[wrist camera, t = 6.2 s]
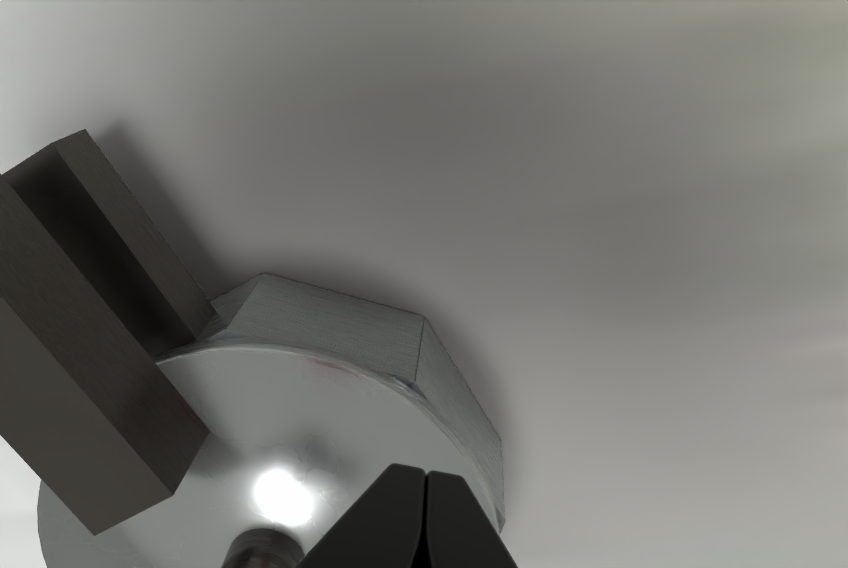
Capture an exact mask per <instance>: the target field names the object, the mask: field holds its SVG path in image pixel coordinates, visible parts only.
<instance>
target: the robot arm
mask: <svg viewBox="0 0 848 568" xmlns="http://www.w3.org/2000/svg"><path fill="white" fill-rule="evenodd" d="M294 568H518V567H517V565H516V563H515V562H514V560H513V558H512V557H511V555H510V553H509V552H508V550H507V548H506V547H505V545H504V543H503V542H502V540H501V538H500V537H499V535H498V533H497V532H496V530H495V528H494V527H493V525H492V523H491V522H490V520H489V518H488V517H487V515H486V513H485V512H484V510H483V508H482V507H481V505H480V503H479V502H478V500H477V498H476V497H475V495H474V493H473V492H472V490H471V488H470V487H469V485H468V483H467V482H466V480H465V479H464V478H463V477H462V476H460V475H456V474H451V473H446V472H440V471H435V470H431V471H429V472H428V473H427V475H426V472H425V470H423V469H422V468H419V467H414V466H409V465H403V464H398V463H392V464H390V465H389V466H388V467H387V468H386V469H385V470H384V471H383V472H382V473H381V474H380V475H379V476H378V477H377V479H376V480H375V481H374V482H373V483H372V484H371V485H370V486H369V487H368V488H367V489H366V490H365V491H364V493H363V494H362V495H361V496H360V497H359V498H358V499H357V500H356V501H355V502H354V503H353V504H352V505H351V507H350V508H349V509H348V510H347V511H346V512H345V513H344V514H343V515H342V516H341V517H340V518H339V520H338V521H337V522H336V523H335V524H334V525H333V526H332V527H331V528H330V529H329V530H328V531H327V532H326V534H325V535H324V536H323V537H322V538H321V539H320V540H319V541H318V542H317V543H316V544H315V545H314V546H313V548H312V549H311V550H310V551H309V552H308V553H307V554H306V555H305V556H304V557H303V558H302V559H301V560H300V562H299V563H298V564H297V565H296V566H295V567H294Z"/></svg>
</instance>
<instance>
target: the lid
mask: <svg viewBox="0 0 848 568" xmlns="http://www.w3.org/2000/svg"><path fill="white" fill-rule="evenodd" d="M0 435H1V436H2V437H3V438H4V439H5V440H6V441H7V443H8V444H9V445H10V446H11V447H12V448H13V449H14V450H15V451H16V452H17V453H18V454H19V455H20V457H21V458H22V459H23V460H24V461H25V462H26V463H27V464H28V465H29V466H30V467H31V468H32V470H33V471H34V472H35V473H36V474H37V475H38V476H39V477H40V478H41V479H42V480H41V483H40V490H39V498H38V505H37V514H38V533H39V538H40V543H41V548H42V554H43V557H44V560H45V563H46V565H47V568H294V567H295V566H296V565H297V564H298V563H299V562H300V560H301V559H302V558H303V557H304V556H305V555H306V554H307V553H308V552H309V551H310V550H311V549H312V548H313V546H314V545H315V544H316V543H317V542H318V541H319V540H320V539H321V538H322V537H323V536H324V535H325V534H326V532H327V531H328V530H329V529H330V528H331V527H332V526H333V525H334V524H335V523H336V522H337V521H338V520H339V518H340V517H341V516H342V515H343V514H344V513H345V512H346V511H347V510H348V509H349V508H350V507H351V505H352V504H353V503H354V502H355V501H356V500H357V499H358V498H359V497H360V496H361V495H362V494H363V493H364V491H365V490H366V489H367V488H368V487H369V486H370V485H371V484H372V483H373V482H374V481H375V480H376V479H377V477H378V476H379V475H380V474H381V473H382V472H383V471H384V470H385V469H386V468H387V467H388V466H389V465H390V464H392V463H398V464H403V465H409V466H414V467H419V468H422V469H423V470H425V472H426V475H427V473H428V472H429V471H431V470H435V471H440V472H446V473H451V474H456V475H460V476H462V477H463V478H464V479H465V480H466V482H467V483H468V485H469V487H470V488H471V490H472V492H473V493H474V495H475V497H476V498H477V500H478V502H479V503H480V505H481V507H482V508H483V510H484V512H485V513H486V515H487V517H488V518H489V520H490V522H491V523H492V525H493V527H494V528H495V530H496V532H497V533H498V535H499V537H500V534H499V520H498V515H497V511H496V507H495V502H494V498H493V494H492V492H491V489H490V487H489V484H488V482H487V479H486V477H485V474H484V472H483V470H482V468H481V466H480V465H479V463H478V461H477V459H476V458H475V456H474V454H473V453H472V451H471V449H470V448H469V446H468V445H467V443H466V442H465V441H464V440H463V438H462V437H461V436H460V435H459V433H458V432H457V431H456V430H455V428H454V427H453V426H452V425H451V423H450V422H449V421H448V420H447V419H446V418H444V417H443V416H442V415H441V414H440V413H439V412H438V411H437V410H436V409H435V408H434V407H433V406H432V405H431V404H430V403H429V402H428V401H426V400H425V399H424V398H422V397H421V396H420V395H418V394H417V393H416V392H414V391H413V390H412V389H410V388H409V387H408V386H406V385H405V384H404V383H402V382H400V381H398V380H397V379H395V378H393V377H392V376H390V375H388V374H386V373H385V372H383V371H381V370H379V369H378V368H376V367H374V366H371V365H369V364H367V363H364V362H362V361H360V360H357V359H355V358H353V357H350V356H348V355H346V354H342V353H339V352H336V351H333V350H329V349H326V348H323V347H319V346H316V345H312V344H306V343H300V342H295V341H289V340H284V339H272V338H256V337H241V338H224V339H214V340H208V341H203V342H197V343H192V344H187V345H183V346H180V347H177V348H174V349H171V350H168V351H165V352H162V353H159V354H156V355H154V356H152V357H150V356H149V355H148V354H147V353H146V351H145V350H144V349H143V348H142V347H141V345H140V344H139V343H138V342H137V340H136V339H135V338H134V337H133V336H132V334H131V333H130V332H129V331H128V329H127V328H126V327H125V326H124V324H123V323H122V322H121V321H120V320H119V318H118V317H117V316H116V315H115V313H114V312H113V311H112V310H111V309H110V307H109V306H108V305H107V304H106V302H105V301H104V300H103V299H102V298H101V296H100V295H99V294H98V293H97V291H96V290H95V289H94V288H93V287H92V285H91V284H90V283H89V282H88V280H87V279H86V278H85V277H84V275H83V274H82V273H81V272H80V271H79V269H78V268H77V267H76V266H75V264H74V263H73V262H72V261H71V260H70V258H69V257H68V256H67V255H66V253H65V252H64V251H63V250H62V249H61V247H60V246H59V245H58V244H57V242H56V241H55V240H54V239H53V237H52V236H51V235H50V234H49V233H48V231H47V230H46V229H45V228H44V226H43V225H42V224H41V223H40V222H39V220H38V219H37V218H36V217H35V215H34V214H33V213H32V212H31V211H30V209H29V208H28V207H27V206H26V204H25V203H24V202H23V201H22V200H21V198H20V197H19V196H18V195H17V193H16V192H15V191H14V190H13V188H12V187H11V186H10V185H9V184H8V182H7V181H6V180H5V179H4V177H3V176H2V175H1V174H0Z"/></svg>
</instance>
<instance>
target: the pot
mask: <svg viewBox="0 0 848 568" xmlns="http://www.w3.org/2000/svg"><path fill="white" fill-rule="evenodd" d="M2 176H3V177H4V179H5V180H6V181H7V182H8V184H9V185H10V186H11V187H12V188H13V190H14V191H15V192H16V193H17V195H18V196H19V197H20V198H21V200H22V201H23V202H24V203H25V204H26V206H27V207H28V208H29V209H30V211H31V212H32V213H33V214H34V215H35V217H36V218H37V219H38V220H39V222H40V223H41V224H42V225H43V226H44V228H45V229H46V230H47V231H48V233H49V234H50V235H51V236H52V237H53V239H54V240H55V241H56V242H57V244H58V245H59V246H60V247H61V249H62V250H63V251H64V252H65V253H66V255H67V256H68V257H69V258H70V260H71V261H72V262H73V263H74V264H75V266H76V267H77V268H78V269H79V271H80V272H81V273H82V274H83V275H84V277H85V278H86V279H87V280H88V282H89V283H90V284H91V285H92V287H93V288H94V289H95V290H96V291H97V293H98V294H99V295H100V296H101V298H102V299H103V300H104V301H105V302H106V304H107V305H108V306H109V307H110V309H111V310H112V311H113V312H114V313H115V315H116V316H117V317H118V318H119V320H120V321H121V322H122V323H123V324H124V326H125V327H126V328H127V329H128V331H129V332H130V333H131V334H132V336H133V337H134V338H135V339H136V340H137V342H138V343H139V344H140V345H141V347H142V348H143V349H144V350H145V351H146V353H147V354H148V355H149V356H150V357H152V356H154V355H156V354H159V353H162V352H165V351H168V350H171V349H174V348H177V347H180V346H183V345H187V344H192V343H197V342H203V341H208V340H214V339H224V338H241V337H256V338H272V339H284V340H289V341H295V342H300V343H306V344H312V345H316V346H319V347H323V348H326V349H329V350H333V351H336V352H339V353H342V354H346V355H348V356H350V357H353V358H355V359H357V360H360V361H362V362H364V363H367V364H369V365H371V366H374V367H376V368H378V369H379V370H381V371H383V372H385V373H386V374H388V375H390V376H392V377H393V378H395V379H397V380H398V381H400V382H402V383H404V384H405V385H406V386H408V387H409V388H410V389H412V390H413V391H414V392H416V393H417V394H418V395H420V396H421V397H422V398H424V399H425V400H426V401H428V402H429V403H430V404H431V405H432V406H433V407H434V408H435V409H436V410H437V411H438V412H439V413H440V414H441V415H442V416H443V417H444V418H446V419H447V420H448V421H449V422H450V423H451V425H452V426H453V427H454V428H455V430H456V431H457V432H458V433H459V435H460V436H461V437H462V438H463V440H464V441H465V442H466V443H467V445H468V446H469V448H470V449H471V451H472V453H473V454H474V456H475V458H476V459H477V461H478V463H479V465H480V466H481V468H482V470H483V472H484V474H485V477H486V479H487V482H488V484H489V487H490V489H491V492H492V494H493V498H494V502H495V507H496V511H497V515H498V520H499V534H500V533H501V530H502V528H503V525H504V523H505V509H504V489H503V470H502V450H501V439H500V438H499V436H498V435H497V433H496V431H495V430H494V428H493V426H492V425H491V423H490V422H489V420H488V418H487V417H486V415H485V414H484V412H483V410H482V409H481V407H480V405H479V404H478V402H477V401H476V399H475V397H474V396H473V394H472V392H471V391H470V389H469V388H468V386H467V384H466V383H465V381H464V380H463V378H462V376H461V375H460V373H459V371H458V370H457V368H456V367H455V365H454V363H453V362H452V360H451V359H450V357H449V355H448V354H447V352H446V350H445V349H444V347H443V346H442V344H441V342H440V341H439V339H438V337H437V336H436V334H435V333H434V331H433V329H432V328H431V326H430V325H429V323H428V321H427V320H426V318H425V317H424V316H421V315H417V314H413V313H410V312H406V311H403V310H399V309H395V308H392V307H388V306H384V305H381V304H377V303H373V302H370V301H366V300H362V299H359V298H355V297H352V296H348V295H344V294H341V293H337V292H333V291H330V290H326V289H322V288H319V287H315V286H312V285H308V284H304V283H301V282H297V281H293V280H290V279H286V278H282V277H279V276H275V275H271V274H268V273H262V274H260V275H258V276H257V277H255V278H253V279H251V280H249V281H247V282H245V283H244V284H242V285H240V286H238V287H236V288H234V289H232V290H231V291H229V292H227V293H225V294H223V295H221V296H219V297H218V298H216V299H214V300H212V301H210V302H209V301H208V299H207V298H206V296H205V295H204V294H203V292H202V291H201V289H200V288H199V287H198V285H197V284H196V282H195V281H194V280H193V278H192V277H191V276H190V274H189V273H188V271H187V270H186V269H185V267H184V266H183V264H182V263H181V262H180V260H179V259H178V257H177V256H176V255H175V253H174V252H173V250H172V249H171V248H170V246H169V245H168V244H167V242H166V241H165V239H164V238H163V237H162V235H161V234H160V232H159V231H158V230H157V228H156V227H155V225H154V224H153V223H152V221H151V220H150V218H149V217H148V216H147V214H146V213H145V212H144V210H143V209H142V207H141V206H140V205H139V203H138V202H137V200H136V199H135V198H134V196H133V195H132V193H131V192H130V191H129V189H128V188H127V186H126V185H125V184H124V182H123V181H122V180H121V178H120V177H119V175H118V174H117V173H116V171H115V170H114V168H113V167H112V166H111V164H110V163H109V161H108V160H107V159H106V157H105V156H104V154H103V153H102V152H101V150H100V149H99V148H98V146H97V145H96V143H95V142H94V141H93V139H92V138H91V136H90V135H89V134H88V132H87V131H86V129H83V130H81V131H79V132H76V133H74V134H72V135H69V136H67V137H65V138H62V139H60V140H58V141H55V142H53V143H51V144H49V145H48V146H46V147H45V148H43V149H42V150H40V151H38V152H37V153H35V154H34V155H32V156H31V157H29V158H27V159H26V160H24V161H23V162H21V163H20V164H18V165H17V166H15V167H13V168H12V169H10V170H9V171H7V172H6V173H4V174H2Z"/></svg>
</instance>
